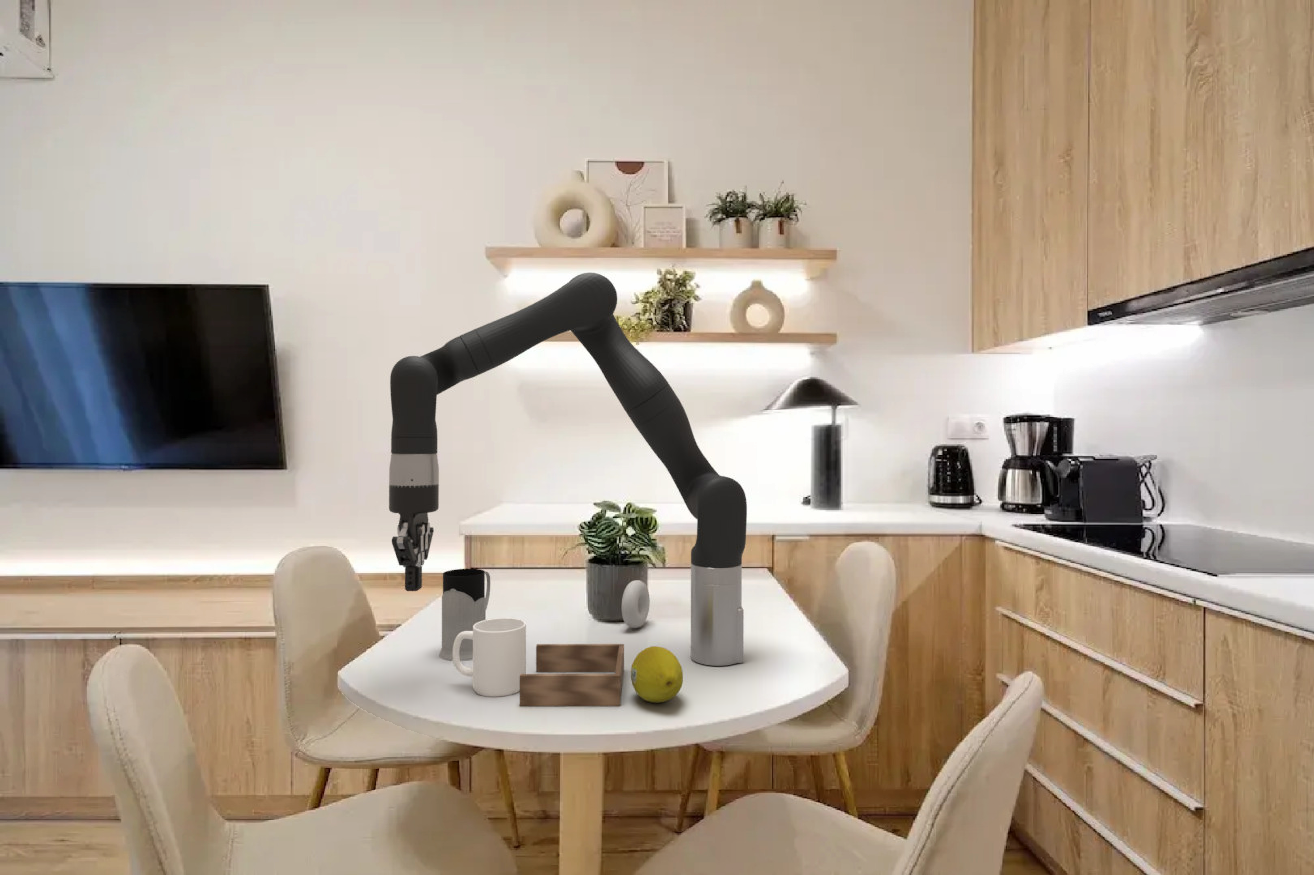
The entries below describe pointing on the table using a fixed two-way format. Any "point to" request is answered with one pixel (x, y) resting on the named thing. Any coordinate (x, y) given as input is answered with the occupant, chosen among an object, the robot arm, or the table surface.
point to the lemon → (656, 674)
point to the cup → (495, 656)
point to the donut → (635, 604)
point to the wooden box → (574, 676)
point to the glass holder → (462, 608)
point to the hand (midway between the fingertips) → (413, 589)
